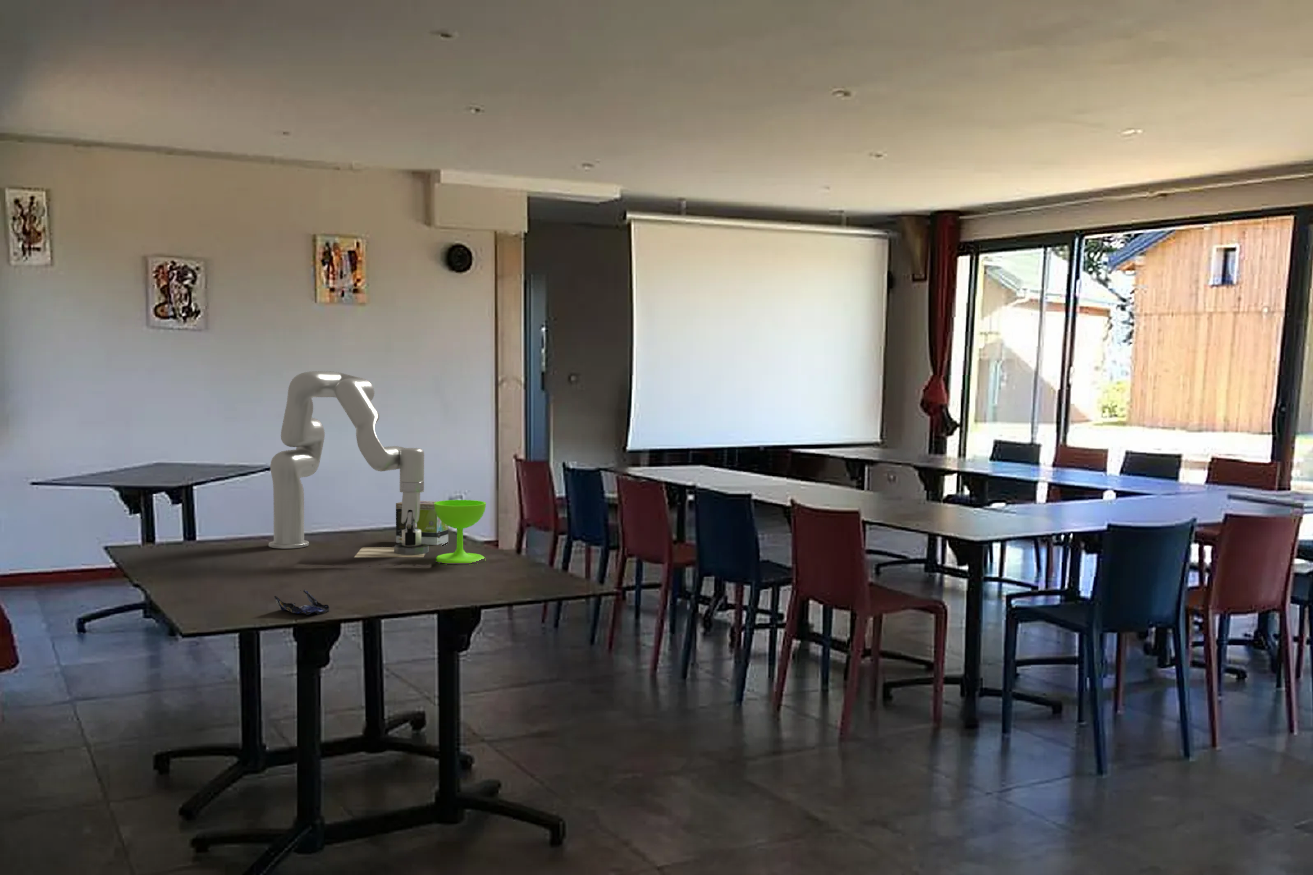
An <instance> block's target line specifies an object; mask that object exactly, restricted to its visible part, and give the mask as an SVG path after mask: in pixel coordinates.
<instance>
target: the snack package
mask: <svg viewBox="0 0 1313 875" xmlns="http://www.w3.org/2000/svg"><path fill="white" fill-rule="evenodd" d="M300 591H303V594H305V595H306V598H307V600H308V602H309V603H310V604H304V605H302V606H296V602H294V603H292V602H284V601H282V600H281V599H280V598H279V597H278V596H276V595H274V600H275V603H276V605H277V606H278V608H279V609H280V611H288V612H290V613H292V614H303V615H307V616H308V615H310V614H313V613H315V614H317V616H318V615H323V614H325V613H327V612H329V611H330V607H329V605H328V604H322V603H321V602H319V601H318V600H317V599H316V598H315V597H314V595H313V594H311V593H310V592H309V591H308V590H306V588H304V589H303V590H300ZM290 599H291V600H293V598H292V597H290Z"/></svg>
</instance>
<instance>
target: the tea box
mask: <svg viewBox="0 0 1313 875" xmlns="http://www.w3.org/2000/svg"><path fill="white" fill-rule="evenodd" d="M438 501H439V500H438ZM438 501H437V500H420V515H419V521H418V522H417V529H420V530H421V544H427V545H429V546H438V545H440V544H441V546H442V545H443V544H445V543H447V542H448V543H449V526H447V525H446V524H444V523H443V522H442V521H441V520H440V519H439V517H438V516H437V514H436V511H435V507H434V502H438ZM401 519H402V501H400V502H396V503H395V543H397V544H402V530H404V529H406V521H405V522H404V524H402V523H401Z"/></svg>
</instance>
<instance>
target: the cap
mask: <svg viewBox="0 0 1313 875" xmlns="http://www.w3.org/2000/svg"><path fill="white" fill-rule="evenodd" d="M405 533H406V529H404V530H402V543H401V544H402V545H404V546H418V545H421V530H420V529H415V533H416V544H415V545H405Z"/></svg>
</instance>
